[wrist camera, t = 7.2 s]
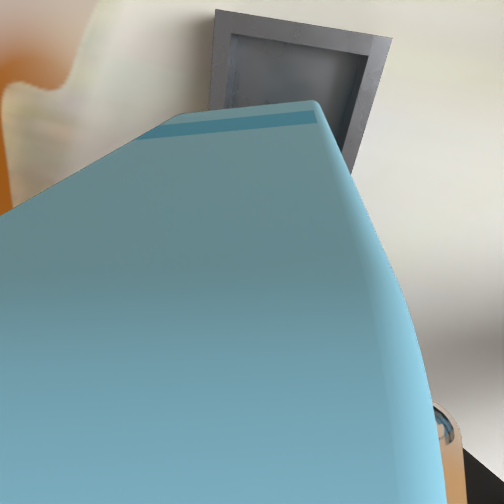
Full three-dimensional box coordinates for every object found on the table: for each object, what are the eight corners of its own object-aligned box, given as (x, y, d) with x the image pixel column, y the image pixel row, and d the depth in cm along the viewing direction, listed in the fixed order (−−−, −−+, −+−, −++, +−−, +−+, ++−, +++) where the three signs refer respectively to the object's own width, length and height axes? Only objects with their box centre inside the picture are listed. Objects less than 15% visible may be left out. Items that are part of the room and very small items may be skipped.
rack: (378, 39, 22) (438, 34, 13) (282, 371, 39) (279, 470, 30) (217, 12, 22) (163, -11, 13) (193, 355, 40) (163, 448, 30)
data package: (185, 107, 12) (-538, 497, 2) (317, 92, 11) (589, 620, 1) (233, 351, 18) (150, 759, 8) (320, 351, 17) (358, 800, 7)
